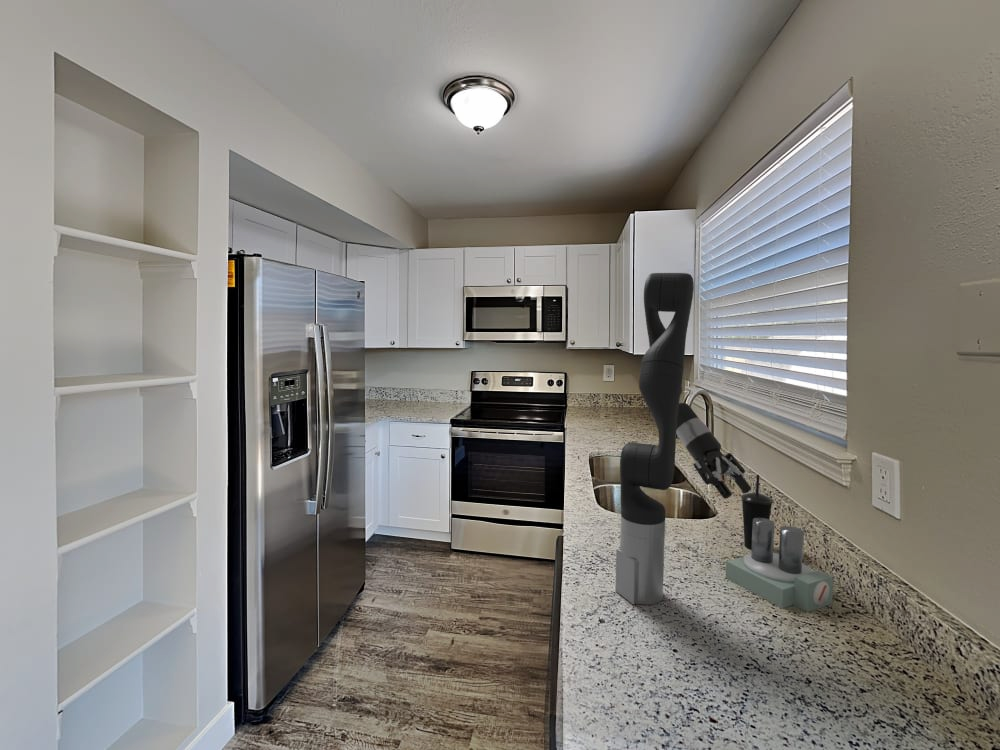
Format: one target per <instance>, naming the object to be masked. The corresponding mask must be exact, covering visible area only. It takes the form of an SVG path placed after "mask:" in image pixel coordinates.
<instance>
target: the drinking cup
mask: <svg viewBox="0 0 1000 750" xmlns="http://www.w3.org/2000/svg"><path fill="white" fill-rule="evenodd" d="M755 477H756V479H755V480H756V482H755V492H747V493H743V494H742V495H740V498H741V501H742V503H741V504H742V506H741V507H742V520H743V521H742V522H743V523H742V524H743V539H744V540H743V541H744V543H743V544H744V547H745V548H747V549H748V550H752V528H753V519H754V518H765V519H769V520H771V519H770V518H771V513H772V512H771V511H772V506H773V504H774V500H773V499H772V498H771V497H769V496H768V495H765V494H763V493H760V492H759V491H760V474H756V476H755Z"/></svg>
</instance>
